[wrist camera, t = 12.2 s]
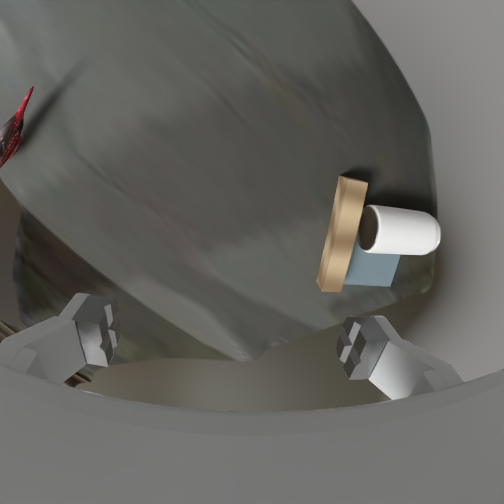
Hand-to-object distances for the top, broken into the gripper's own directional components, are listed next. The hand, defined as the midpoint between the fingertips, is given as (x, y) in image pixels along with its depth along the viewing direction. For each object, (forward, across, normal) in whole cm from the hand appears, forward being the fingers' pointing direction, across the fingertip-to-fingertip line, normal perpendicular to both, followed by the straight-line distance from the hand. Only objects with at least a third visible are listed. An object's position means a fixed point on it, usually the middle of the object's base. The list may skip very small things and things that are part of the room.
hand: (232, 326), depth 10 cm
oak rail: (+29, -16, +5) cm, 34 cm away
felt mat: (+29, -23, +7) cm, 38 cm away
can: (+25, -18, +3) cm, 31 cm away
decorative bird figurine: (+29, +32, -6) cm, 44 cm away
